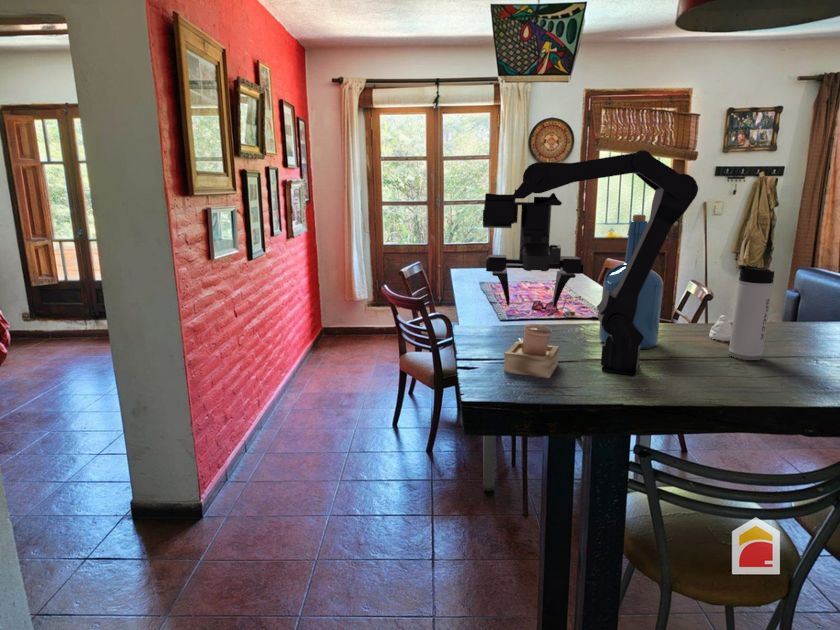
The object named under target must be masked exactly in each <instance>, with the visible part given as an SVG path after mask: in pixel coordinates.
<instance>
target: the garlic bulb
mask: <svg viewBox="0 0 840 630" xmlns="http://www.w3.org/2000/svg"><path fill="white" fill-rule="evenodd" d="M731 332H732V324H731V322H730V321H729V320H728V317H727V316H726V315H723V314H722V315H720V316H719V318H718V320H717V321H716V322H714V325H712V326H711V328H710V331H709V333H708V335H709V338H710V339H711V338H712V339H711V340H713V339H717V340H725V341H728V340H730V339H731ZM717 340H716V341H717Z"/></svg>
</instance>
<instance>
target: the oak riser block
mask: <svg viewBox="0 0 840 630" xmlns="http://www.w3.org/2000/svg"><path fill="white" fill-rule="evenodd" d="M522 343H523V341H515V342H514V343H513V344H512V345H511V346H510V347H509V348H508V349H507V350H506V351H505V352H504V363H503V364H504V366H503V372H504V373H511V374H516V375H517V374H518V375H525V376H532V377H539V378H546V379H550V378H551V376H552V375H553V373H554V371H555V370H556V369H557V366H558V365H559V354H560V353H559V352H560V350H559V349H560V346H559V345H551V344H550V345H549V344H548V348H547V353H546V356H537V355H529V354H525V353H523V352H522V351H521V349H522Z"/></svg>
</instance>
